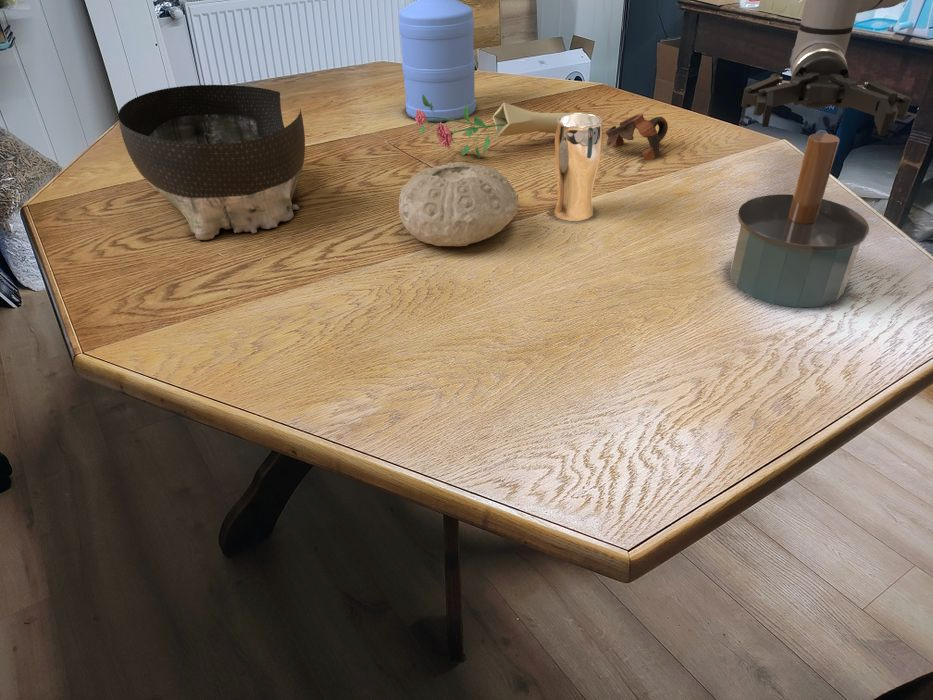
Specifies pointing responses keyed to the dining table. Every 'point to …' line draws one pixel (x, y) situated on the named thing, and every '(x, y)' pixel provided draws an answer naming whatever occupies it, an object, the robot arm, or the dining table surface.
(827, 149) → the lid
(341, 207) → the dining table surface
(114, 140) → the dining table surface
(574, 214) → the beer glass
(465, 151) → the flower vase
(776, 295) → the pot
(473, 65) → the water jug
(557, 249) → the dining table surface
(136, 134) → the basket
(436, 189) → the decorative shell
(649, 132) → the twisted brown loop sculpture
